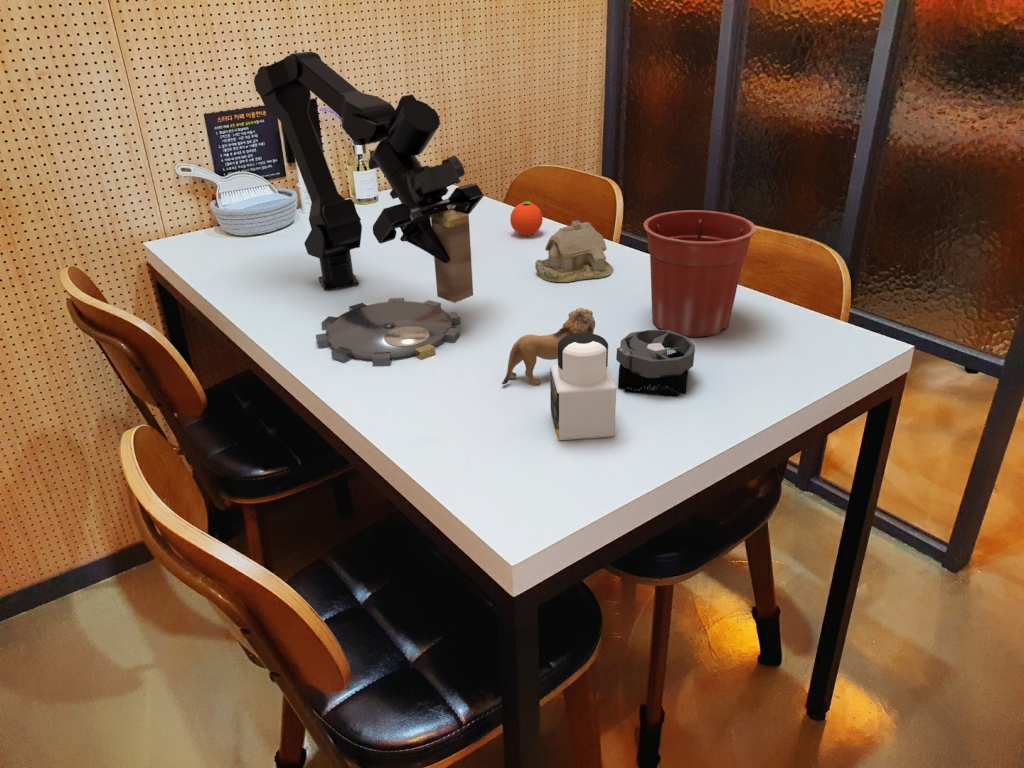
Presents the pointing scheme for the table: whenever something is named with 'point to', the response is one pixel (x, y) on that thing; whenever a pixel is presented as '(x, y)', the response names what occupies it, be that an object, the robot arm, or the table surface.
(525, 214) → the clementine
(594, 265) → the ceramic model
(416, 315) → the sprocket plate
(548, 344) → the lion figurine
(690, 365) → the cpu cooler
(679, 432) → the table surface
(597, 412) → the medicine bottle
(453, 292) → the gold-topped wooden block
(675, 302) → the flower pot
